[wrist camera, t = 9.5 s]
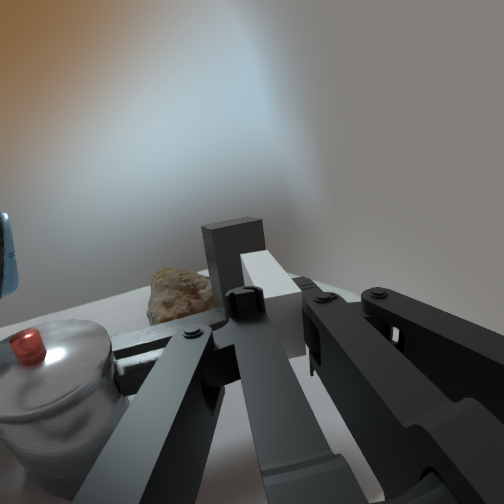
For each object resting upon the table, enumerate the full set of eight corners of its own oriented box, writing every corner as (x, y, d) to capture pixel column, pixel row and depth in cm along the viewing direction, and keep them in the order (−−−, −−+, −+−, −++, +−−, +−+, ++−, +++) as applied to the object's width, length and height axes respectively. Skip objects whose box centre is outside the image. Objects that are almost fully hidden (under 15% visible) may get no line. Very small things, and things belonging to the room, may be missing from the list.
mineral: (134, 255, 58) (183, 252, 62) (138, 301, 59) (185, 296, 63) (146, 283, 34) (229, 276, 38) (154, 356, 35) (230, 345, 39)
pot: (-8, 501, 11) (-70, 427, 9) (10, 418, 23) (-26, 353, 20) (271, 449, 21) (258, 364, 19) (217, 372, 33) (201, 300, 30)
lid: (-46, 429, 10) (-100, 325, 8) (-3, 345, 22) (-28, 272, 20) (313, 341, 20) (305, 227, 18) (235, 286, 32) (224, 212, 30)
